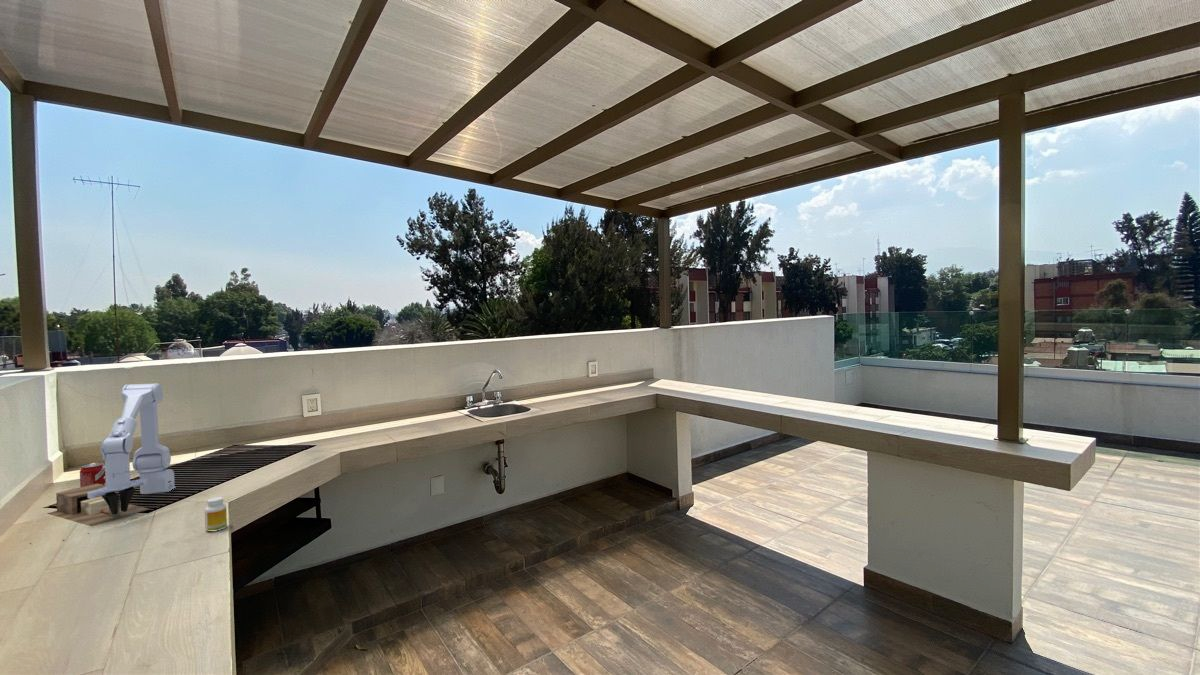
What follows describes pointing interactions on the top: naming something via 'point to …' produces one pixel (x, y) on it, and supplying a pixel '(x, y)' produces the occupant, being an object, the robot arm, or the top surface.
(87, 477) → the soda can
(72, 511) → the walnut shelf
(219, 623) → the top surface
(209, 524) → the supplement bottle
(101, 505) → the grey handled cream block
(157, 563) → the top surface
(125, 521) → the top surface
